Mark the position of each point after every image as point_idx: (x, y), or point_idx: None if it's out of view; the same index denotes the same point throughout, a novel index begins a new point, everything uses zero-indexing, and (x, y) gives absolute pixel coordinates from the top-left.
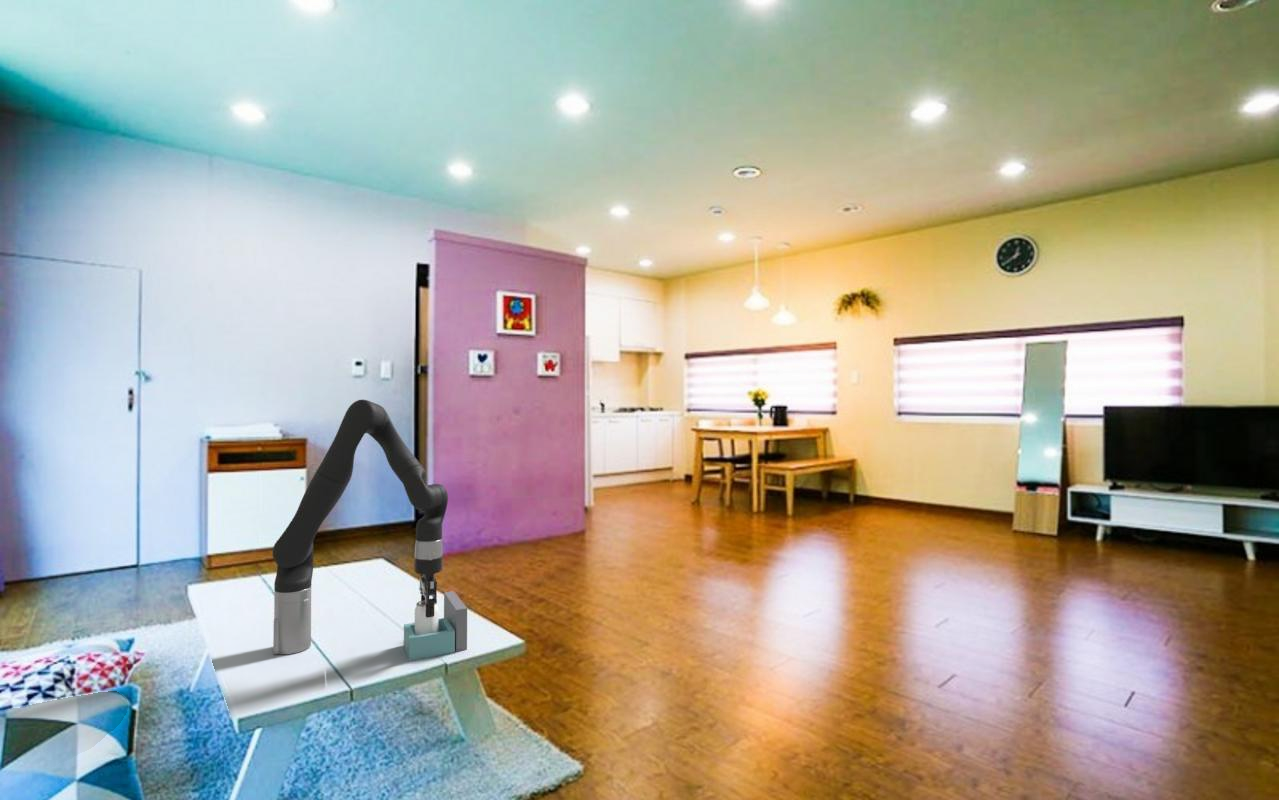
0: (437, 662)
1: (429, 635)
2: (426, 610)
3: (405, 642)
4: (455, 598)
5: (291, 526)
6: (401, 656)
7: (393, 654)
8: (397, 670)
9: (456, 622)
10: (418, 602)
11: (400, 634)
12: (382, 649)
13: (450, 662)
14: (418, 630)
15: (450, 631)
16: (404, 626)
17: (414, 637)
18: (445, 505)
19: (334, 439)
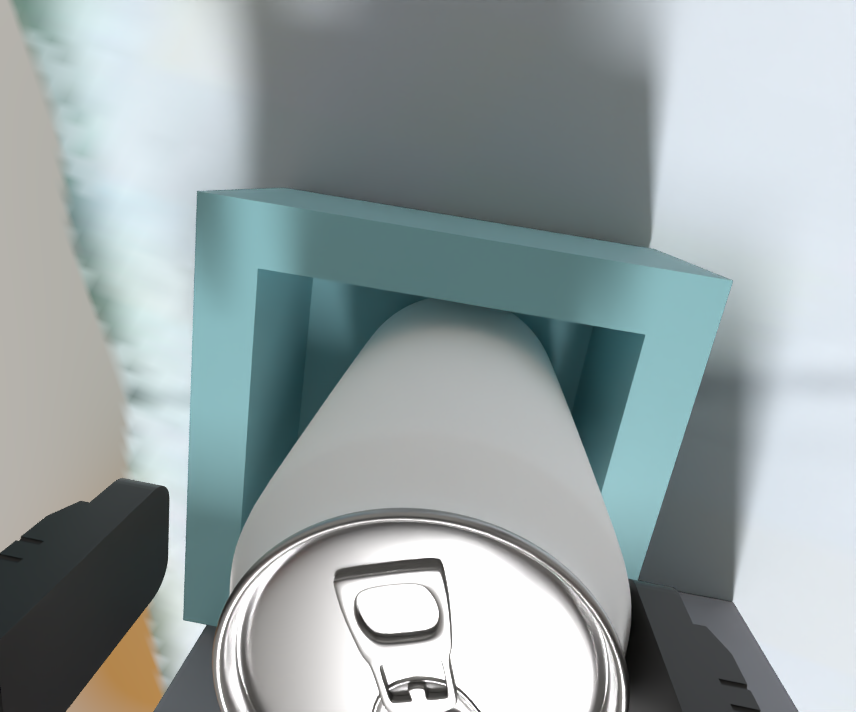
0: (171, 356)
1: (190, 399)
2: (48, 545)
3: (546, 235)
4: None
5: None
6: (439, 163)
7: (527, 115)
8: (170, 48)
9: (160, 701)
10: (575, 594)
11: None
12: (718, 57)
13: (128, 425)
14: (374, 350)
15: (190, 587)
16: (671, 269)
17: (206, 247)
18: None
19: None
